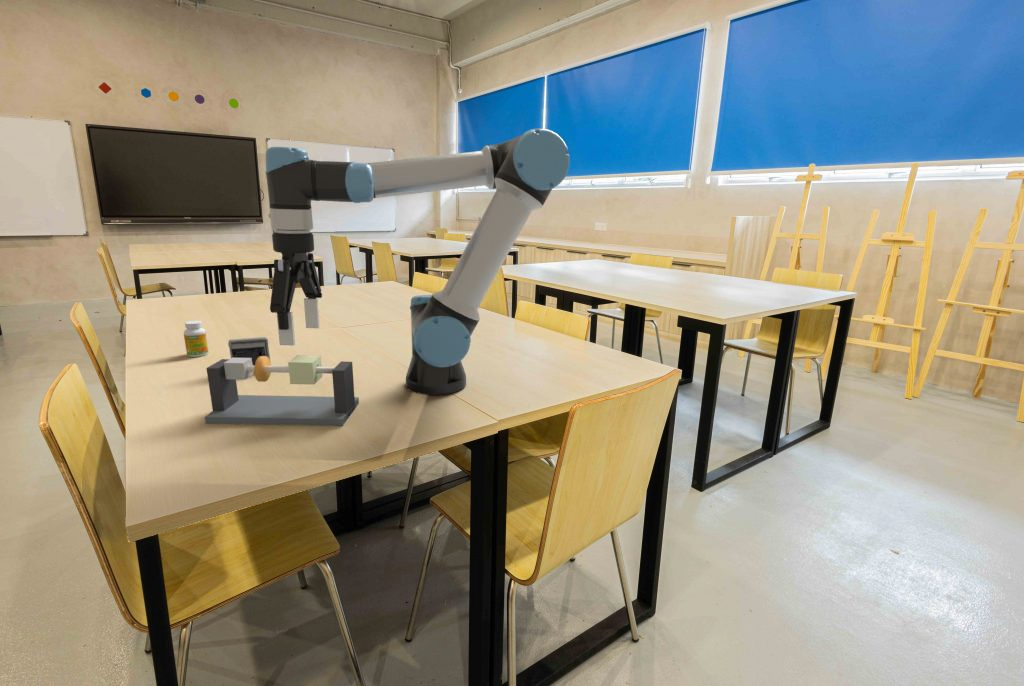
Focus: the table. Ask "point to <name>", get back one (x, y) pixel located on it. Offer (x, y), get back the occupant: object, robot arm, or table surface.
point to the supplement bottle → (195, 339)
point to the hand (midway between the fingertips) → (300, 336)
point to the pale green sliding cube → (304, 369)
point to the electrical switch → (249, 348)
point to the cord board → (276, 408)
